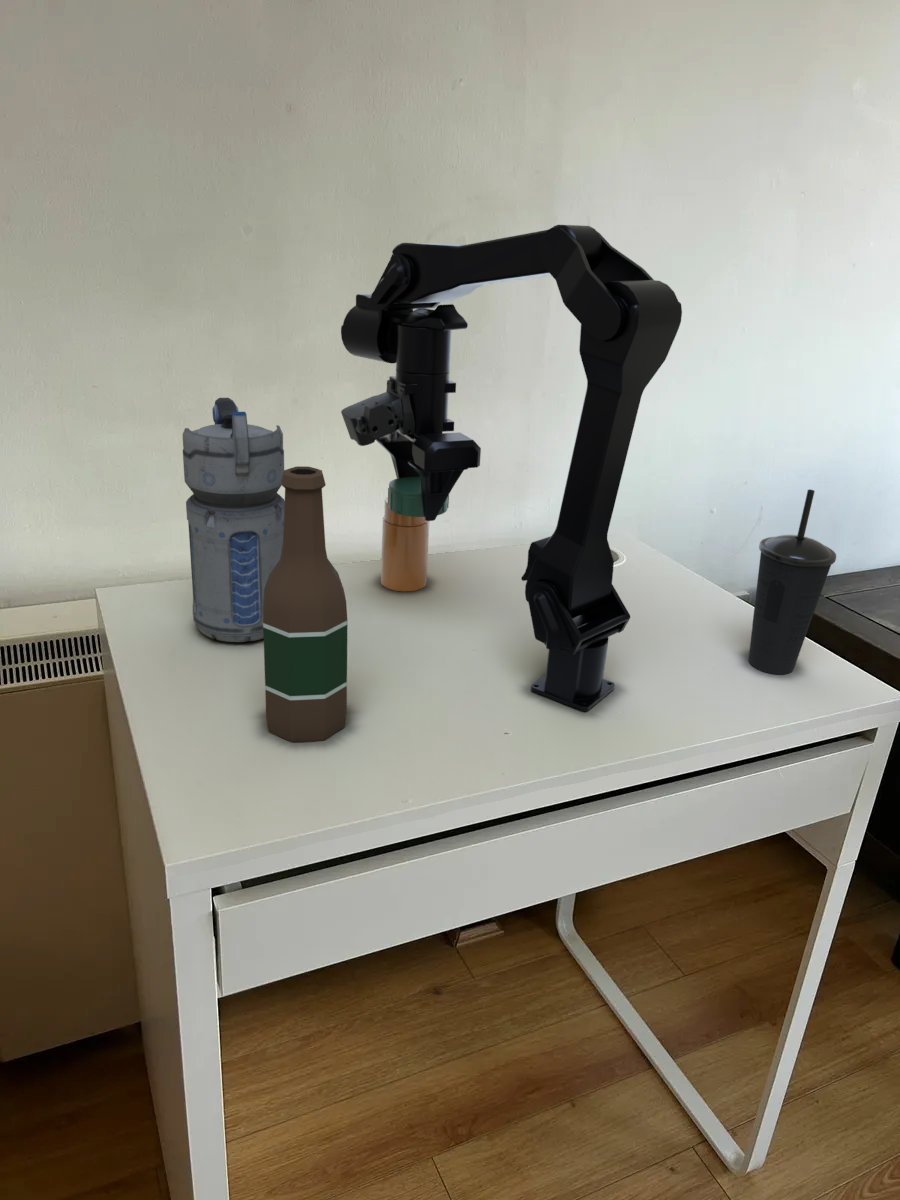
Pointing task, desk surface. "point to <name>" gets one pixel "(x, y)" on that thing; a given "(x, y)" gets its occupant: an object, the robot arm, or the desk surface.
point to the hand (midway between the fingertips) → (418, 511)
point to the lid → (408, 497)
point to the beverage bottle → (233, 520)
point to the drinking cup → (787, 596)
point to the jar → (404, 551)
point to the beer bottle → (304, 622)
